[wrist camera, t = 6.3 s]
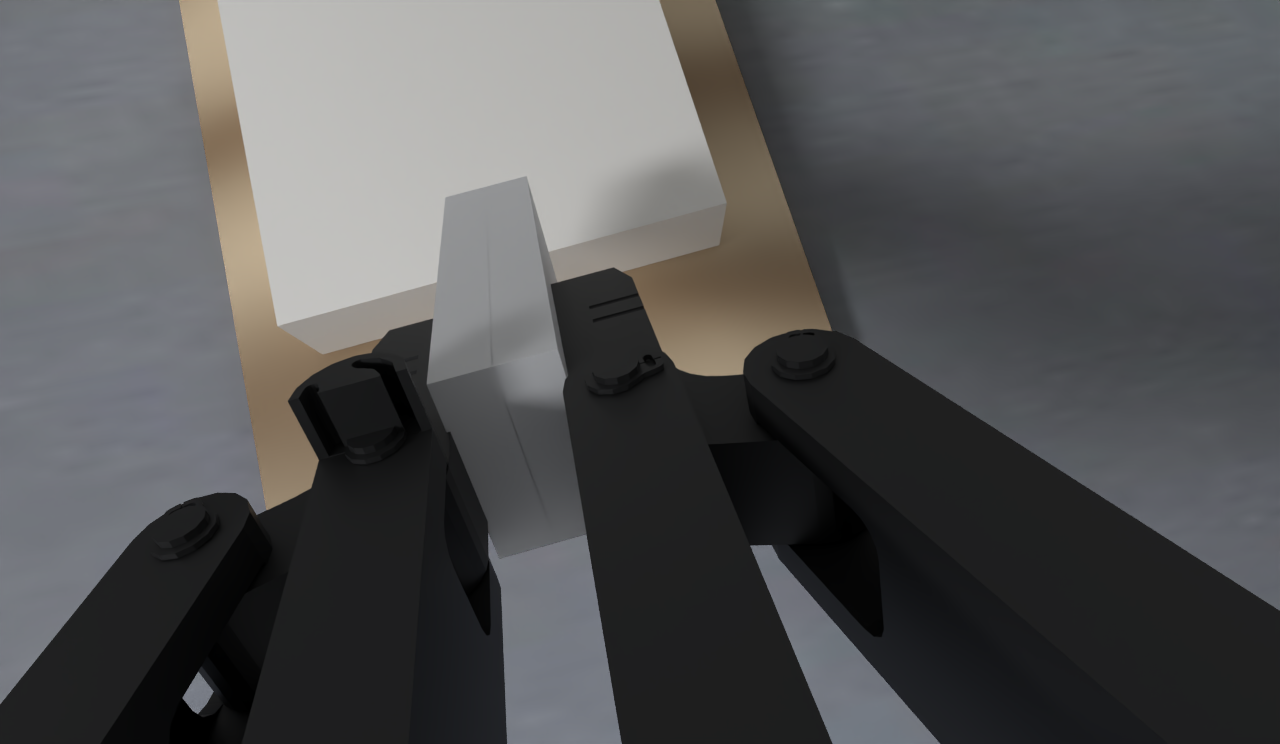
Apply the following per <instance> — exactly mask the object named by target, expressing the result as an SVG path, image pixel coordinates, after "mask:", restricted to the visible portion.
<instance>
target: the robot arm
mask: <svg viewBox="0 0 1280 744" xmlns="http://www.w3.org/2000/svg"><path fill="white" fill-rule="evenodd" d="M288 403H289V405H290V407H291V409H292V411H293V413H294V414H295V416H296V418H297V420H298V422H299V424H300V426H301V428H302V429H303V431H304V433H305V435H306V437H307V439H308V441H309V442H310V444H311V446H312V448H313V450H314V452H315V454H316V456H317V457H318V459H319V462H318V465H317V469H316V473H315V476H314V480H313V484H312V487H311V488H310V489H309V490H307V491H305V492H303V493H301V494H299V495H298V496H296V497H294V498H292V499H290V500H288V501H285V502H283V503H281V504H279V505H277V506H275V507H273V508H271V509H269V510H267V511H264V512H262V513H260V514H258V515H256V513H255V512H254V510H253V508H252V507H251V505H250V504H249V502H248V500H247V499H245V498H243V497H242V496H240V495H238V494H236V493H215V494H211V495H207V496H203V497H199V498H194V499H191V500H188V501H186V502H184V504H182V505H181V504H179V505H177V506H175V507H173V508H171V509H169V510H168V511H167V512H166V513H165V514H164V515H162V516H161V517H159V518H158V519H156V520H155V521H153V522H152V523H150V524H149V525H148V526H147V527H146V528H145V529H144V530H143V531H142V532H141V533H140V534H139V535H138V536H137V537H136V538H135V539H134V540H133V541H132V542H131V543H130V544H129V546H128V547H127V548H126V549H125V551H124V552H123V553H122V554H121V555H120V557H119V558H118V559H117V560H116V562H115V563H114V564H113V565H112V567H111V568H110V569H109V570H108V572H107V573H106V574H105V575H104V577H103V578H102V579H101V580H100V582H99V583H98V584H97V585H96V586H95V588H94V589H93V590H92V591H91V593H90V594H89V595H88V596H87V598H86V599H85V600H84V601H83V603H82V604H81V605H80V606H79V608H78V609H77V610H76V611H75V612H74V614H73V615H72V616H71V617H70V619H69V620H68V621H67V622H66V624H65V625H64V626H63V627H62V629H61V630H60V631H59V632H58V634H57V635H56V636H55V637H54V639H53V640H52V641H51V642H50V643H49V645H48V646H47V647H46V648H45V650H44V651H43V652H42V653H41V655H40V656H39V657H38V658H37V660H36V661H35V662H34V663H33V665H32V666H31V667H30V668H29V670H28V671H27V672H26V673H25V674H24V676H23V677H22V678H21V679H20V681H19V682H18V683H17V684H16V686H15V687H14V688H13V689H12V691H11V692H10V693H9V694H8V696H7V697H6V698H5V699H4V700H3V702H2V703H1V704H0V744H507V732H506V707H505V682H504V657H503V632H502V606H501V587H500V584H499V581H498V578H497V575H496V573H495V571H494V568H493V566H492V564H491V561H490V559H489V557H488V533H489V535H490V537H491V540H492V542H493V544H494V547H495V549H496V552H497V554H498V556H499V559H500V558H504V557H508V556H511V555H515V554H518V553H522V552H525V551H529V550H532V549H536V548H540V547H543V546H547V545H550V544H554V543H557V542H561V541H564V540H568V539H571V538H575V537H579V536H582V535H586V534H587V540H588V546H589V552H590V558H591V564H592V569H593V575H594V581H595V587H596V593H597V599H598V605H599V611H600V617H601V623H602V629H603V635H604V641H605V647H606V652H607V658H608V664H609V670H610V676H611V682H612V688H613V694H614V700H615V706H616V712H617V718H618V724H619V730H620V735H621V741H622V744H832V742H831V739H830V737H829V734H828V732H827V730H826V727H825V725H824V722H823V720H822V718H821V715H820V713H819V710H818V708H817V705H816V703H815V701H814V698H813V696H812V693H811V691H810V689H809V686H808V684H807V681H806V679H805V677H804V674H803V672H802V669H801V667H800V665H799V662H798V660H797V657H796V655H795V653H794V650H793V648H792V645H791V643H790V641H789V638H788V636H787V633H786V631H785V629H784V626H783V624H782V621H781V619H780V617H779V614H778V612H777V609H776V607H775V605H774V602H773V600H772V597H771V595H770V593H769V590H768V588H767V585H766V583H765V581H764V578H763V576H762V573H761V571H760V569H759V566H758V564H757V561H756V559H755V556H754V554H753V552H752V549H751V547H750V545H772V546H773V548H774V550H775V552H776V554H777V556H778V558H779V559H780V561H781V562H782V563H783V564H784V565H785V566H786V567H787V569H788V570H789V571H790V572H791V573H792V574H793V575H794V577H795V578H796V579H797V580H798V581H799V582H800V583H801V585H802V586H803V587H804V588H805V589H806V590H807V591H808V593H809V594H810V595H811V596H812V597H813V598H814V599H815V601H816V602H817V603H818V604H819V605H820V606H821V607H822V609H823V610H824V611H825V612H826V613H827V614H828V616H829V617H830V618H831V619H832V620H833V621H834V622H835V624H836V625H837V626H838V627H839V628H840V629H841V630H842V632H843V633H844V634H845V635H846V636H847V637H848V638H849V640H850V641H851V642H852V643H853V644H854V645H855V646H856V648H857V649H858V650H859V651H860V652H861V653H862V654H863V656H864V657H865V658H866V659H867V660H868V661H869V662H870V664H871V665H872V666H873V667H874V668H875V669H876V670H877V672H878V673H879V674H880V675H881V676H882V677H883V678H884V680H885V681H886V682H887V683H888V684H889V685H890V686H891V688H892V689H893V690H894V691H895V692H896V693H897V694H898V696H899V697H900V698H901V699H902V700H903V701H904V702H905V704H906V705H907V706H908V707H909V708H910V709H911V710H912V712H913V713H914V714H915V715H916V716H917V717H918V718H919V720H920V721H921V722H922V723H923V724H924V725H925V726H926V728H927V729H928V730H929V731H930V732H931V733H932V735H933V736H934V737H935V738H936V739H937V740H938V741H939V743H940V744H1280V611H1279V610H1278V609H1276V608H1274V607H1273V606H1271V605H1270V604H1268V603H1267V602H1265V601H1263V600H1262V599H1260V598H1259V597H1257V596H1256V595H1254V594H1253V593H1251V592H1249V591H1248V590H1246V589H1245V588H1243V587H1242V586H1240V585H1238V584H1237V583H1235V582H1234V581H1232V580H1231V579H1229V578H1228V577H1226V576H1224V575H1223V574H1221V573H1220V572H1218V571H1217V570H1215V569H1213V568H1212V567H1210V566H1209V565H1207V564H1206V563H1204V562H1202V561H1201V560H1199V559H1198V558H1196V557H1195V556H1193V555H1192V554H1190V553H1188V552H1187V551H1185V550H1184V549H1182V548H1181V547H1179V546H1177V545H1176V544H1174V543H1173V542H1171V541H1170V540H1168V539H1167V538H1165V537H1163V536H1162V535H1160V534H1159V533H1157V532H1156V531H1154V530H1152V529H1151V528H1149V527H1148V526H1146V525H1145V524H1143V523H1142V522H1140V521H1138V520H1137V519H1135V518H1134V517H1132V516H1131V515H1129V514H1127V513H1126V512H1124V511H1123V510H1121V509H1120V508H1118V507H1116V506H1115V505H1113V504H1112V503H1110V502H1109V501H1107V500H1106V499H1104V498H1102V497H1101V496H1099V495H1098V494H1096V493H1095V492H1093V491H1091V490H1090V489H1088V488H1087V487H1085V486H1084V485H1082V484H1081V483H1079V482H1077V481H1076V480H1074V479H1073V478H1071V477H1070V476H1068V475H1066V474H1065V473H1063V472H1062V471H1060V470H1059V469H1057V468H1056V467H1054V466H1052V465H1051V464H1049V463H1048V462H1046V461H1045V460H1043V459H1041V458H1040V457H1038V456H1037V455H1035V454H1034V453H1032V452H1031V451H1029V450H1027V449H1026V448H1024V447H1023V446H1021V445H1020V444H1018V443H1016V442H1015V441H1013V440H1012V439H1010V438H1009V437H1007V436H1005V435H1004V434H1002V433H1001V432H999V431H998V430H996V429H995V428H993V427H991V426H990V425H988V424H987V423H985V422H984V421H982V420H980V419H979V418H977V417H976V416H974V415H973V414H971V413H970V412H968V411H966V410H965V409H963V408H962V407H960V406H959V405H957V404H955V403H954V402H952V401H951V400H949V399H948V398H946V397H945V396H943V395H941V394H940V393H938V392H937V391H935V390H934V389H932V388H930V387H929V386H927V385H926V384H924V383H923V382H921V381H919V380H918V379H916V378H915V377H913V376H912V375H910V374H909V373H907V372H905V371H904V370H902V369H901V368H899V367H898V366H896V365H894V364H893V363H891V362H890V361H888V360H887V359H885V358H884V357H882V356H880V355H879V354H877V353H876V352H874V351H873V350H871V349H869V348H868V347H866V346H865V345H863V344H862V343H860V342H859V341H857V340H855V339H854V338H851V337H849V336H846V335H844V334H841V333H839V332H836V331H828V330H819V329H803V330H794V331H789V332H787V333H784V334H781V335H777V336H774V337H771V338H769V339H768V340H766V341H764V342H762V343H761V344H759V345H757V346H756V347H754V348H753V350H752V351H751V352H750V353H749V354H748V356H747V357H746V358H745V359H744V367H743V374H740V375H727V376H703V375H696V374H690V373H687V372H685V371H682V370H679V369H677V368H676V367H675V364H674V362H673V361H672V360H671V359H670V357H669V356H668V355H667V354H666V353H665V352H662V350H661V347H660V345H659V342H658V340H657V337H656V335H655V332H654V330H653V327H652V325H651V323H650V320H649V318H648V315H647V313H646V310H645V309H644V305H643V303H642V300H641V298H640V296H639V293H638V291H637V288H636V286H635V283H634V281H633V278H632V277H631V276H629V275H627V274H625V273H623V272H621V271H619V270H618V269H616V268H614V267H613V268H609V269H605V270H602V271H598V272H594V273H590V274H587V275H583V276H579V277H576V278H572V279H568V280H564V281H561V282H557V279H556V275H555V272H554V268H553V265H552V261H551V258H550V255H549V251H548V248H547V244H546V241H545V238H544V234H543V231H542V227H541V224H540V220H539V217H538V214H537V210H536V207H535V203H534V200H533V196H532V193H531V190H530V186H529V183H528V179H527V176H524V177H521V178H517V179H513V180H509V181H505V182H502V183H498V184H494V185H490V186H486V187H483V188H479V189H475V190H471V191H467V192H464V193H460V194H456V195H452V196H448V197H445V206H444V216H443V226H442V236H441V246H440V256H439V266H438V276H437V286H436V296H435V306H434V315H433V319H429V320H425V321H422V322H418V323H414V324H410V325H407V326H403V327H399V328H396V329H392V330H389V331H388V332H387V334H386V335H385V336H384V337H383V338H382V339H381V341H380V342H379V343H378V344H377V345H376V346H375V348H374V349H373V350H372V353H367V354H362V355H356V356H353V357H350V358H347V359H344V360H342V361H339V362H336V363H333V364H331V365H329V366H328V367H326V368H324V369H322V370H320V371H318V372H317V373H315V374H313V375H312V376H310V377H309V378H308V379H307V380H305V381H304V382H303V383H302V384H301V385H299V386H298V387H297V388H296V389H295V391H294V392H293V394H292V395H291V397H290V398H289V400H288ZM198 672H199V673H200V674H201V675H202V677H203V678H204V679H205V681H206V682H207V683H208V685H209V686H210V687H211V688H212V690H213V691H214V692H213V694H212V696H211V698H210V699H209V701H208V703H207V704H206V706H205V707H204V708H203V709H202V710H201V711H200V712H199V714H197V713H195V712H193V711H192V710H191V708H190V707H189V706H188V705H187V703H186V702H185V701H184V700H183V698H182V697H183V696H184V694H185V692H186V691H187V689H188V688H189V686H190V684H191V683H192V681H193V679H194V678H195V676H196V674H197V673H198Z"/></svg>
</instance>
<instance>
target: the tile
mask: <svg viewBox="0 0 1280 744" xmlns="http://www.w3.org/2000/svg"><path fill="white" fill-rule="evenodd" d="M217 1H218V7H219V12H220V18H221V23H222V29H223V34H224V39H225V45H226V50H227V56H228V61H229V67H230V72H231V77H232V83H233V88H234V94H235V99H236V105H237V110H238V115H239V121H240V126H241V132H242V137H243V142H244V148H245V153H246V159H247V164H248V170H249V175H250V180H251V186H252V191H253V197H254V202H255V208H256V213H257V218H258V224H259V229H260V235H261V240H262V246H263V251H264V256H265V262H266V267H267V273H268V278H269V284H270V289H271V294H272V300H273V305H274V311H275V316H276V321H277V326H278V327H280V328H281V329H283V330H284V331H286V332H288V333H289V334H291V335H292V336H294V337H296V338H297V339H299V340H300V341H302V342H303V343H305V344H307V345H308V346H310V347H311V348H313V349H315V350H316V351H318V352H319V353H321V354H327V353H330V352H334V351H337V350H341V349H345V348H348V347H352V346H356V345H359V344H363V343H366V342H370V341H374V340H377V339H381V338H383V337H384V336H385V335H386V334H387V332H388V331H389V330H392V329H396V328H399V327H403V326H407V325H410V324H414V323H418V322H422V321H425V320H429V319H433V315H434V306H435V296H436V286H437V276H438V266H439V256H440V246H441V236H442V226H443V216H444V206H445V197H448V196H452V195H456V194H460V193H464V192H467V191H471V190H475V189H479V188H483V187H486V186H490V185H494V184H498V183H502V182H505V181H509V180H513V179H517V178H521V177H524V176H527V179H528V183H529V186H530V190H531V193H532V196H533V200H534V203H535V207H536V210H537V214H538V217H539V220H540V224H541V227H542V231H543V234H544V238H545V241H546V244H547V248H548V251H549V255H550V258H551V261H552V265H553V268H554V272H555V275H556V279H557V282H561V281H564V280H568V279H572V278H576V277H579V276H583V275H587V274H590V273H594V272H598V271H602V270H605V269H609V268H613V267H614V268H616V269H618V270H619V271H621V272H624V271H627V270H631V269H635V268H638V267H642V266H646V265H649V264H653V263H656V262H660V261H664V260H667V259H671V258H675V257H678V256H682V255H685V254H689V253H693V252H696V251H700V250H704V249H707V248H711V247H714V246H718V245H719V244H720V239H721V233H722V227H723V222H724V216H725V211H726V205H727V202H726V199H725V196H724V193H723V190H722V187H721V184H720V181H719V178H718V175H717V172H716V169H715V166H714V163H713V160H712V157H711V154H710V151H709V148H708V145H707V142H706V139H705V136H704V133H703V130H702V127H701V124H700V121H699V118H698V115H697V112H696V109H695V106H694V103H693V100H692V97H691V94H690V91H689V88H688V85H687V82H686V79H685V76H684V73H683V70H682V67H681V64H680V61H679V58H678V55H677V52H676V49H675V46H674V43H673V40H672V37H671V34H670V31H669V28H668V25H667V22H666V19H665V16H664V13H663V10H662V7H661V4H660V1H659V0H217Z"/></svg>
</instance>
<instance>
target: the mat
mask: <svg viewBox="0 0 1280 744" xmlns="http://www.w3.org/2000/svg"><path fill="white" fill-rule="evenodd" d="M659 1H660V4H661V7H662V10H663V13H664V16H665V19H666V22H667V25H668V28H669V31H670V34H671V37H672V40H673V43H674V46H675V49H676V52H677V55H678V58H679V61H680V64H681V67H682V70H683V73H684V76H685V79H686V82H687V85H688V88H689V91H690V94H691V97H692V100H693V103H694V106H695V109H696V112H697V115H698V118H699V121H700V124H701V127H702V130H703V133H704V136H705V139H706V142H707V145H708V148H709V151H710V154H711V157H712V160H713V163H714V166H715V169H716V172H717V175H718V178H719V181H720V184H721V187H722V190H723V193H724V196H725V199H726V202H727V205H726V211H725V216H724V222H723V227H722V233H721V239H720V244H719V245H718V246H714V247H711V248H707V249H704V250H700V251H696V252H693V253H689V254H685V255H682V256H678V257H675V258H671V259H667V260H664V261H660V262H656V263H653V264H649V265H646V266H642V267H638V268H635V269H631V270H627V271H624V272H623V273H625V274H627V275H629V276H631V277H632V278H633V281H634V283H635V286H636V288H637V291H638V293H639V296H640V298H641V300H642V303H643V305H644V309H645V310H646V313H647V315H648V318H649V320H650V323H651V325H652V327H653V330H654V332H655V335H656V337H657V340H658V342H659V345H660V347H661V350H662V352H665V353H666V354H667V355H668V356H669V357H670V359H671V360H672V361H673V362H674V364H675V367H676V368H677V369H679V370H682V371H685V372H687V373H690V374H696V375H703V376H727V375H740V374H743V367H744V359H745V358H746V357H747V356H748V354H749V353H750V352H751V351H752V350H753V348H754V347H756V346H757V345H759V344H761V343H762V342H764V341H766V340H768V339H769V338H771V337H774V336H777V335H781V334H784V333H787V332H789V331H794V330H803V329H819V330H828V331H832V329H831V326H830V323H829V321H828V318H827V315H826V312H825V309H824V306H823V304H822V301H821V298H820V295H819V292H818V289H817V287H816V284H815V281H814V278H813V275H812V272H811V270H810V267H809V264H808V261H807V258H806V255H805V253H804V250H803V247H802V244H801V241H800V238H799V236H798V233H797V230H796V227H795V224H794V221H793V219H792V216H791V213H790V210H789V207H788V204H787V202H786V199H785V196H784V193H783V190H782V187H781V185H780V182H779V179H778V176H777V173H776V170H775V168H774V165H773V162H772V159H771V156H770V153H769V151H768V148H767V145H766V142H765V139H764V136H763V134H762V131H761V128H760V125H759V122H758V120H757V117H756V114H755V111H754V108H753V105H752V103H751V100H750V97H749V94H748V91H747V88H746V86H745V83H744V80H743V77H742V74H741V71H740V69H739V66H738V63H737V60H736V57H735V54H734V52H733V49H732V46H731V43H730V40H729V37H728V35H727V32H726V29H725V26H724V23H723V20H722V18H721V15H720V12H719V9H718V6H717V3H716V1H715V0H659ZM179 3H180V8H181V14H182V20H183V26H184V32H185V38H186V43H187V49H188V55H189V61H190V67H191V73H192V78H193V84H194V90H195V96H196V102H197V108H198V113H199V119H200V125H201V131H202V137H203V143H204V148H205V154H206V160H207V166H208V172H209V178H210V183H211V189H212V195H213V201H214V207H215V213H216V218H217V224H218V230H219V236H220V242H221V248H222V253H223V259H224V265H225V271H226V277H227V283H228V288H229V294H230V300H231V306H232V312H233V318H234V323H235V329H236V335H237V341H238V347H239V353H240V358H241V364H242V370H243V376H244V382H245V388H246V393H247V399H248V405H249V411H250V417H251V423H252V428H253V434H254V440H255V446H256V452H257V458H258V463H259V469H260V475H261V481H262V487H263V493H264V498H265V504H266V510H269V509H271V508H273V507H275V506H277V505H279V504H281V503H283V502H285V501H288V500H290V499H292V498H294V497H296V496H298V495H299V494H301V493H303V492H305V491H307V490H309V489H310V488H311V487H312V484H313V480H314V476H315V473H316V469H317V465H318V462H319V459H318V457H317V456H316V454H315V452H314V450H313V448H312V446H311V444H310V442H309V441H308V439H307V437H306V435H305V433H304V431H303V429H302V428H301V426H300V424H299V422H298V420H297V418H296V416H295V414H294V413H293V411H292V409H291V407H290V405H289V403H288V400H289V398H290V397H291V395H292V394H293V392H294V391H295V389H296V388H297V387H298V386H299V385H301V384H302V383H303V382H304V381H305V380H307V379H308V378H309V377H310V376H312V375H313V374H315V373H317V372H318V371H320V370H322V369H324V368H326V367H328V366H329V365H331V364H333V363H336V362H339V361H342V360H344V359H347V358H350V357H353V356H356V355H362V354H367V353H372V350H373V349H374V348H375V346H376V345H377V344H378V343H379V342H380V341H381V339H382V338H381V339H377V340H374V341H370V342H366V343H363V344H359V345H356V346H352V347H348V348H345V349H341V350H337V351H334V352H330V353H327V354H321V353H319V352H318V351H316V350H315V349H313V348H311V347H310V346H308V345H307V344H305V343H303V342H302V341H300V340H299V339H297V338H296V337H294V336H292V335H291V334H289V333H288V332H286V331H284V330H283V329H281V328H280V327H278V326H277V321H276V316H275V311H274V305H273V300H272V294H271V289H270V284H269V278H268V273H267V267H266V262H265V256H264V251H263V246H262V240H261V235H260V229H259V224H258V218H257V213H256V208H255V202H254V197H253V191H252V186H251V180H250V175H249V170H248V164H247V159H246V153H245V148H244V142H243V137H242V132H241V126H240V121H239V115H238V110H237V105H236V99H235V94H234V88H233V83H232V77H231V72H230V67H229V61H228V56H227V50H226V45H225V39H224V34H223V29H222V23H221V18H220V12H219V7H218V1H217V0H179Z"/></svg>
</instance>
